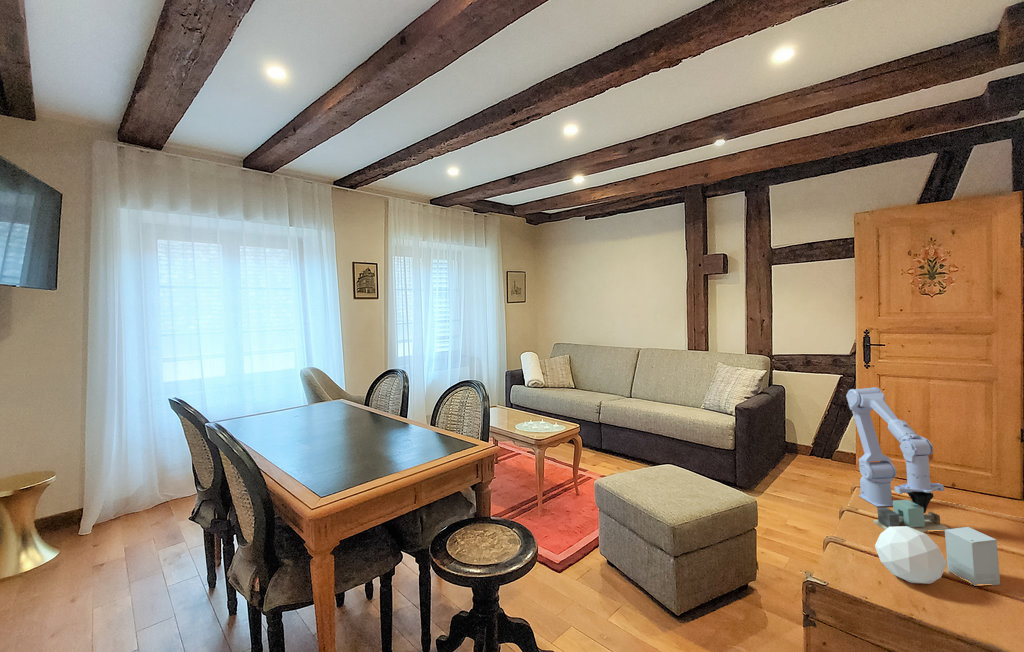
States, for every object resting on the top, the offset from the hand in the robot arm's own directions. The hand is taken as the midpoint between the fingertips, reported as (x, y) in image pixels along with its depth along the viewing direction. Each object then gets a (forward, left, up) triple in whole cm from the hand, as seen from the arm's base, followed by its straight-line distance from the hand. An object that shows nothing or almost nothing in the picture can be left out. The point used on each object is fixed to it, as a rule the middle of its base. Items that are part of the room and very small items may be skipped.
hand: (920, 512), depth 144 cm
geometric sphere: (+26, -25, -5) cm, 36 cm away
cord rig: (0, -4, -5) cm, 6 cm away
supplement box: (+27, -10, -5) cm, 29 cm away
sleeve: (0, -4, -3) cm, 5 cm away
